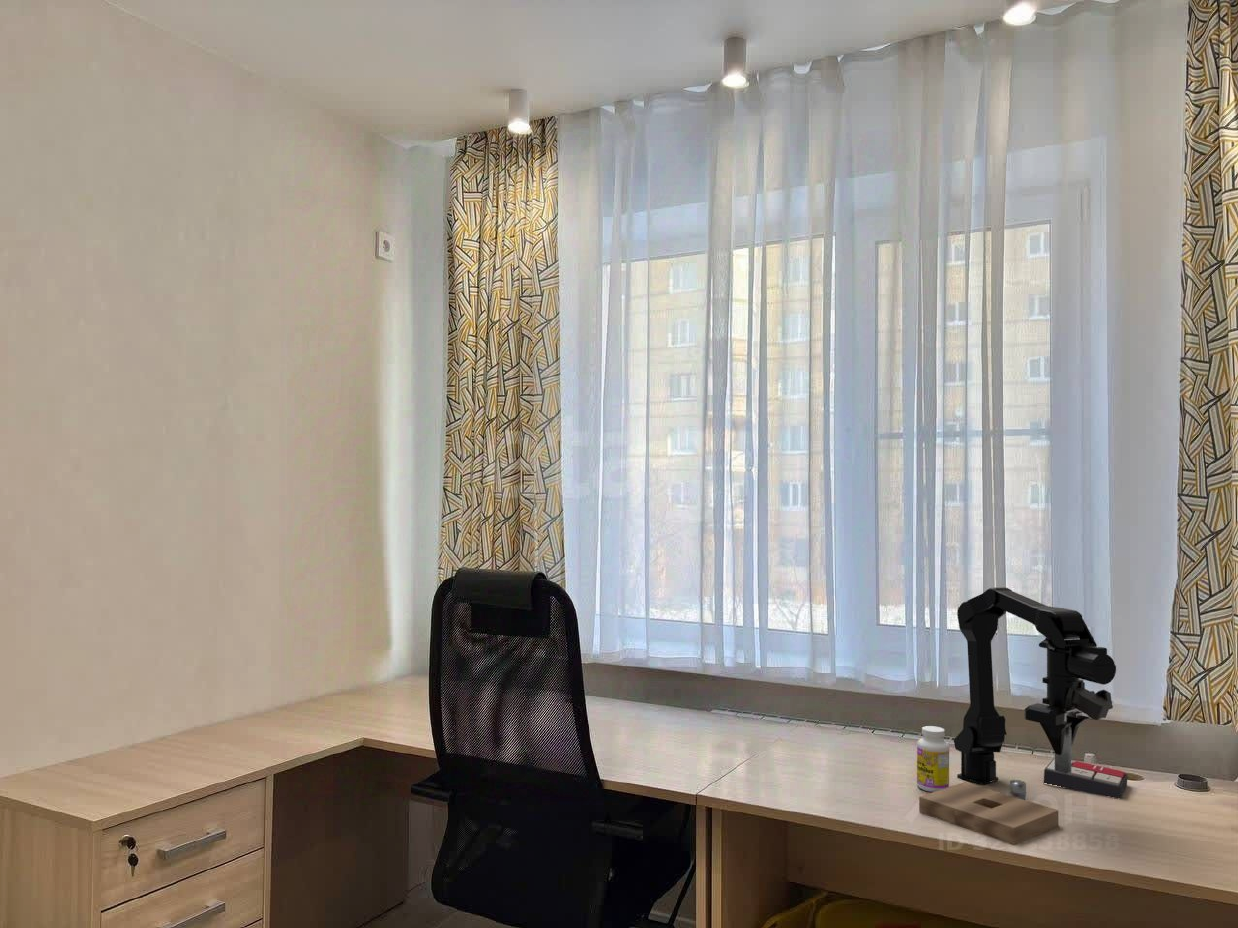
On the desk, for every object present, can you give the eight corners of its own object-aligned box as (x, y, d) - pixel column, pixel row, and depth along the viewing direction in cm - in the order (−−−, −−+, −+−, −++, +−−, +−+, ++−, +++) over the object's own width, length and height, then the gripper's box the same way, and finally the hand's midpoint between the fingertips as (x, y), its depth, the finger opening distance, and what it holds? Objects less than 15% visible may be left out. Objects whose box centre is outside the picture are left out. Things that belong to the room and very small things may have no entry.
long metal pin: (1051, 769, 176) (1051, 724, 176) (1059, 767, 178) (1059, 721, 178) (1066, 773, 174) (1066, 727, 174) (1074, 770, 176) (1074, 725, 176)
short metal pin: (1007, 803, 184) (1007, 781, 184) (1015, 800, 186) (1015, 778, 186) (1021, 807, 182) (1021, 785, 182) (1028, 804, 183) (1028, 782, 184)
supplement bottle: (910, 785, 195) (910, 726, 195) (933, 781, 197) (933, 723, 198) (932, 794, 189) (932, 733, 189) (956, 791, 191) (956, 730, 192)
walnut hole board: (919, 811, 178) (919, 796, 179) (964, 796, 188) (964, 781, 188) (1014, 844, 162) (1014, 827, 162) (1058, 825, 172) (1058, 809, 172)
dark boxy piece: (1121, 783, 188) (1044, 765, 197) (1120, 803, 188) (1042, 785, 197) (1128, 770, 197) (1053, 754, 206) (1127, 789, 197) (1052, 772, 206)
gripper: (1081, 687, 164) (1081, 772, 164) (1127, 675, 176) (1127, 755, 175) (1023, 676, 173) (1022, 756, 173) (1070, 666, 185) (1070, 741, 184)
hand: (1062, 752), depth 176 cm, fingers closed on long metal pin, 3 cm apart
